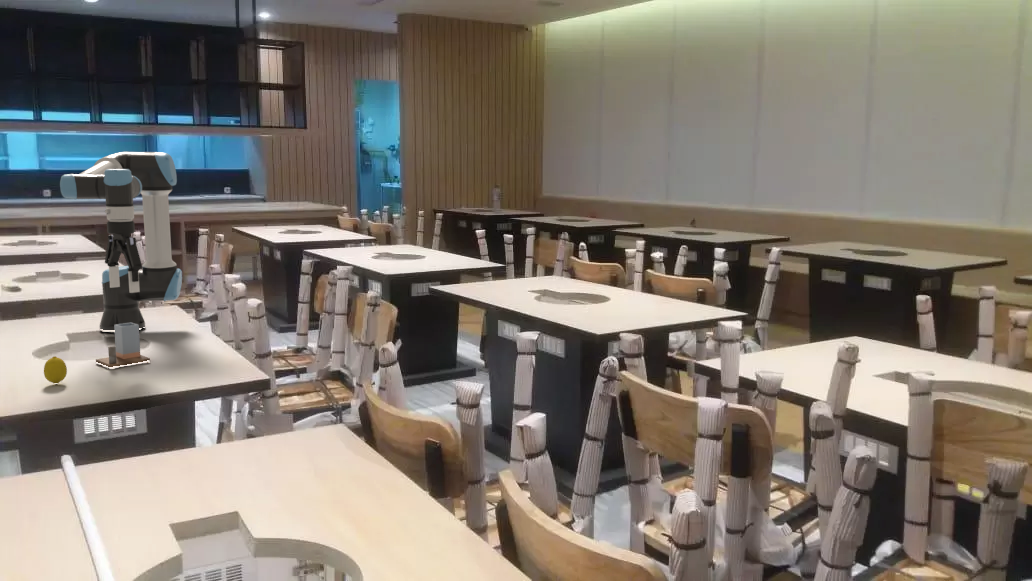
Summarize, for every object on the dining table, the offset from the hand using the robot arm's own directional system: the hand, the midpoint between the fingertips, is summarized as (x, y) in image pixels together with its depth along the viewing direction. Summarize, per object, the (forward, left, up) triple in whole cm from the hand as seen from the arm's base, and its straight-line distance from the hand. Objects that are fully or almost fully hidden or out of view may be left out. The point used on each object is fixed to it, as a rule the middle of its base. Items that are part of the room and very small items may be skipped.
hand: (124, 289), depth 249 cm
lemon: (+26, +13, -23) cm, 37 cm away
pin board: (+3, +2, -22) cm, 23 cm away
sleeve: (0, 0, -21) cm, 21 cm away
